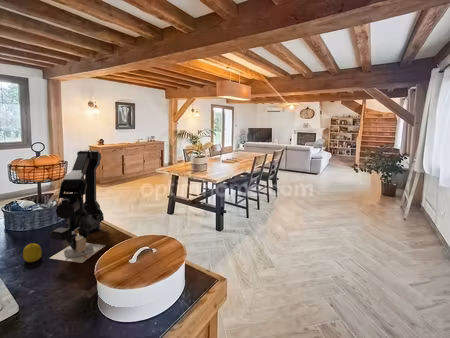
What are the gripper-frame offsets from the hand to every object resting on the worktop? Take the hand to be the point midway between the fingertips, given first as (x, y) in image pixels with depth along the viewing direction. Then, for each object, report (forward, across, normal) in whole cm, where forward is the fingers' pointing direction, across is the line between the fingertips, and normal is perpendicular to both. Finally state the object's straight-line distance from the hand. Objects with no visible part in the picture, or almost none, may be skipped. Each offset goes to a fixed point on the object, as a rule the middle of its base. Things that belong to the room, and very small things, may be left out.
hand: (78, 246), depth 102 cm
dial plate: (+4, 0, 0) cm, 4 cm away
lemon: (+4, -10, +11) cm, 16 cm away
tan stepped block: (+2, 0, 0) cm, 2 cm away
